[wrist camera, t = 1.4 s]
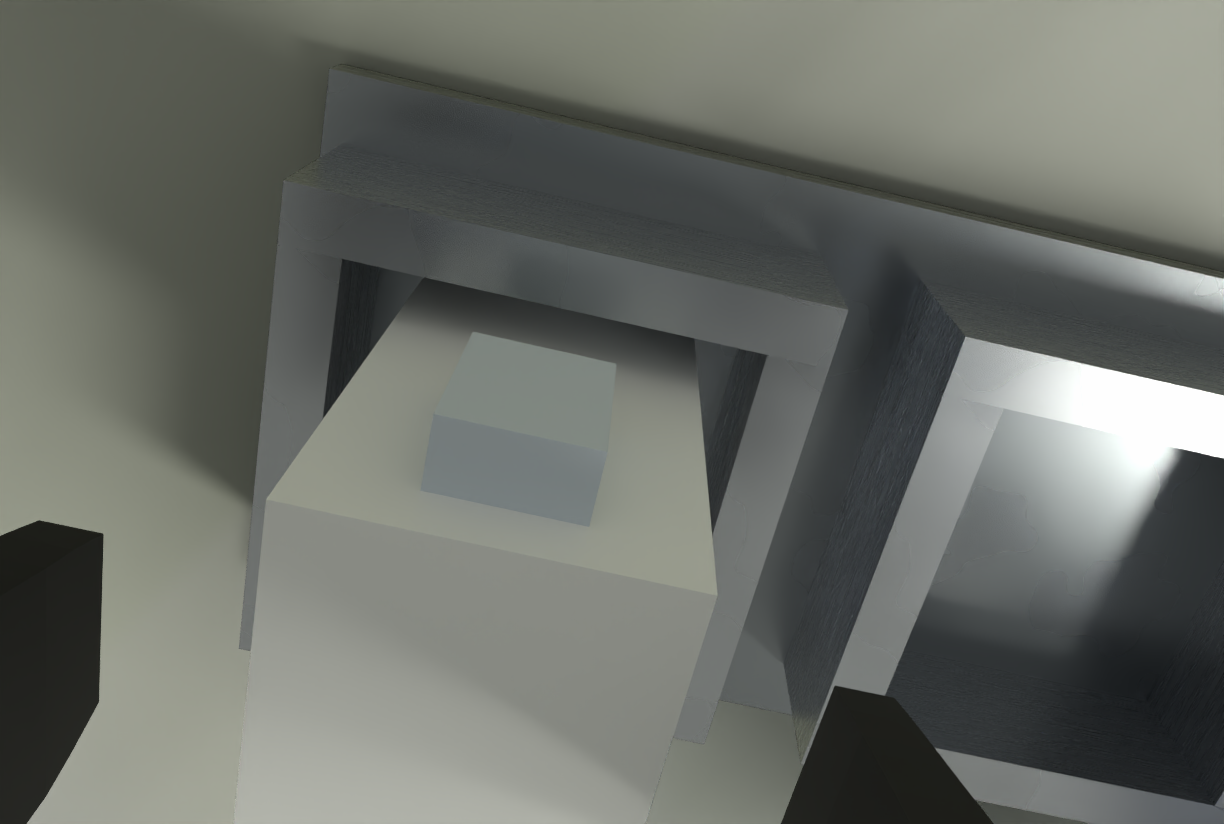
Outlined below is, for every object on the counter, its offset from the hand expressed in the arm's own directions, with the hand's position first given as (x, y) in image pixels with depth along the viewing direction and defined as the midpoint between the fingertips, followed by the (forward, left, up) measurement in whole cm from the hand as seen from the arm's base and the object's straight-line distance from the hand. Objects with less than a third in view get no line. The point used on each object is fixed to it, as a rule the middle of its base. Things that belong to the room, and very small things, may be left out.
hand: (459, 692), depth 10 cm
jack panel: (0, -4, -7) cm, 8 cm away
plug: (0, 0, -7) cm, 7 cm away
